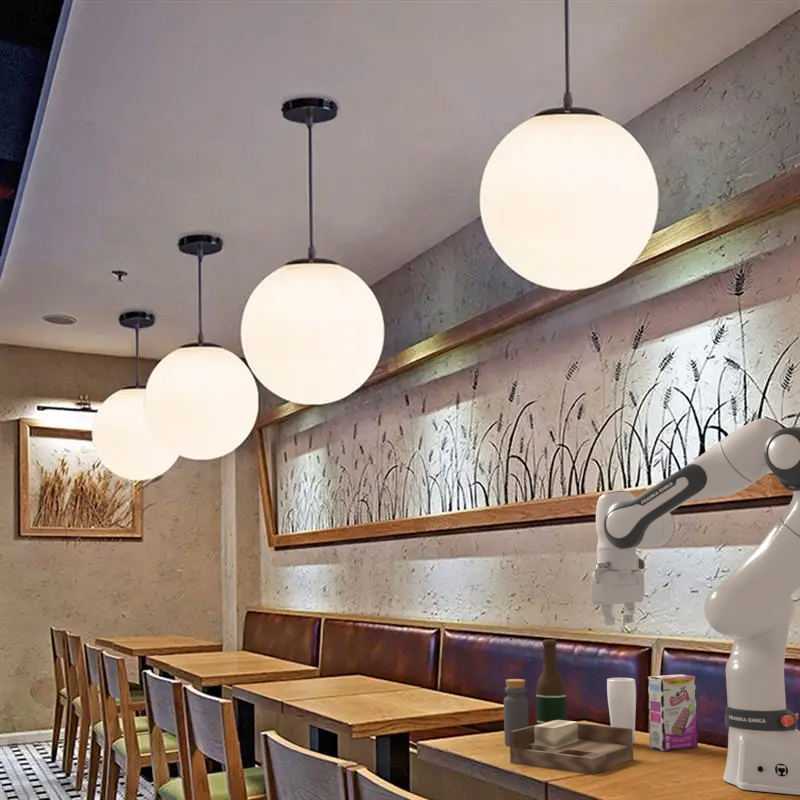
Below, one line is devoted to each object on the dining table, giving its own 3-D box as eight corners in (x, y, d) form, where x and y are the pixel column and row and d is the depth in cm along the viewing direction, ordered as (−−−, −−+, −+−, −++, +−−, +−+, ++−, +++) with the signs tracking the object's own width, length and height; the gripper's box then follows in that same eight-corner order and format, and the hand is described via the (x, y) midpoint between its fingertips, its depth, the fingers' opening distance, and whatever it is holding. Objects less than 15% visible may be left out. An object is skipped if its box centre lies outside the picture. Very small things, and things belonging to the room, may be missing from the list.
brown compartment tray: (633, 759, 217) (632, 728, 218) (593, 774, 203) (592, 741, 204) (553, 749, 229) (552, 720, 231) (510, 762, 215) (509, 731, 216)
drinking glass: (638, 746, 232) (635, 681, 234) (609, 745, 233) (606, 680, 236) (637, 741, 238) (634, 677, 241) (609, 740, 240) (606, 677, 242)
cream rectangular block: (578, 740, 224) (577, 721, 225) (554, 747, 216) (553, 728, 216) (559, 737, 227) (558, 719, 228) (534, 744, 219) (534, 726, 219)
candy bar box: (665, 752, 225) (661, 678, 228) (649, 748, 229) (646, 676, 232) (700, 747, 231) (696, 675, 233) (684, 744, 235) (680, 673, 238)
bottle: (500, 743, 237) (498, 679, 239) (520, 741, 239) (518, 678, 242) (513, 747, 232) (512, 681, 234) (534, 745, 234) (532, 680, 237)
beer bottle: (561, 744, 236) (557, 641, 239) (531, 741, 240) (528, 640, 244) (573, 739, 242) (570, 639, 246) (544, 736, 246) (541, 638, 250)
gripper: (608, 562, 215) (611, 627, 213) (648, 562, 231) (651, 622, 229) (582, 562, 219) (585, 626, 217) (623, 562, 235) (626, 621, 233)
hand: (619, 624), depth 223 cm, fingers open, 8 cm apart
